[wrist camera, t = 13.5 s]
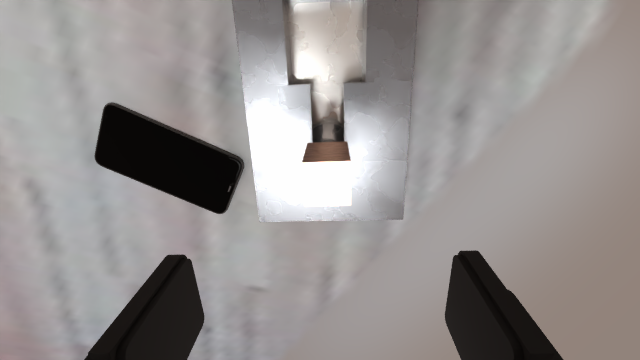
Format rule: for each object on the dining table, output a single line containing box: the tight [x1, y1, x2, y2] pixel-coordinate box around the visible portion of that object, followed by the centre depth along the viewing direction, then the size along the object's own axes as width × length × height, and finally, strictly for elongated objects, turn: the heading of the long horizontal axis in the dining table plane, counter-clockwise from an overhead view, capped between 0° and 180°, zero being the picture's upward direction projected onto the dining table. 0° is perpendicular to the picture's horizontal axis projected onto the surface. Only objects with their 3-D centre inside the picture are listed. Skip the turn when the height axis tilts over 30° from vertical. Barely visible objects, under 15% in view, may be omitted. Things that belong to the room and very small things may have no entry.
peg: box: [302, 120, 351, 206], centre depth 26 cm, size 4×4×11 cm
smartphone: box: [95, 103, 244, 214], centre depth 34 cm, size 7×1×15 cm
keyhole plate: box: [232, 0, 418, 222], centre depth 29 cm, size 22×14×4 cm, turn 2°
